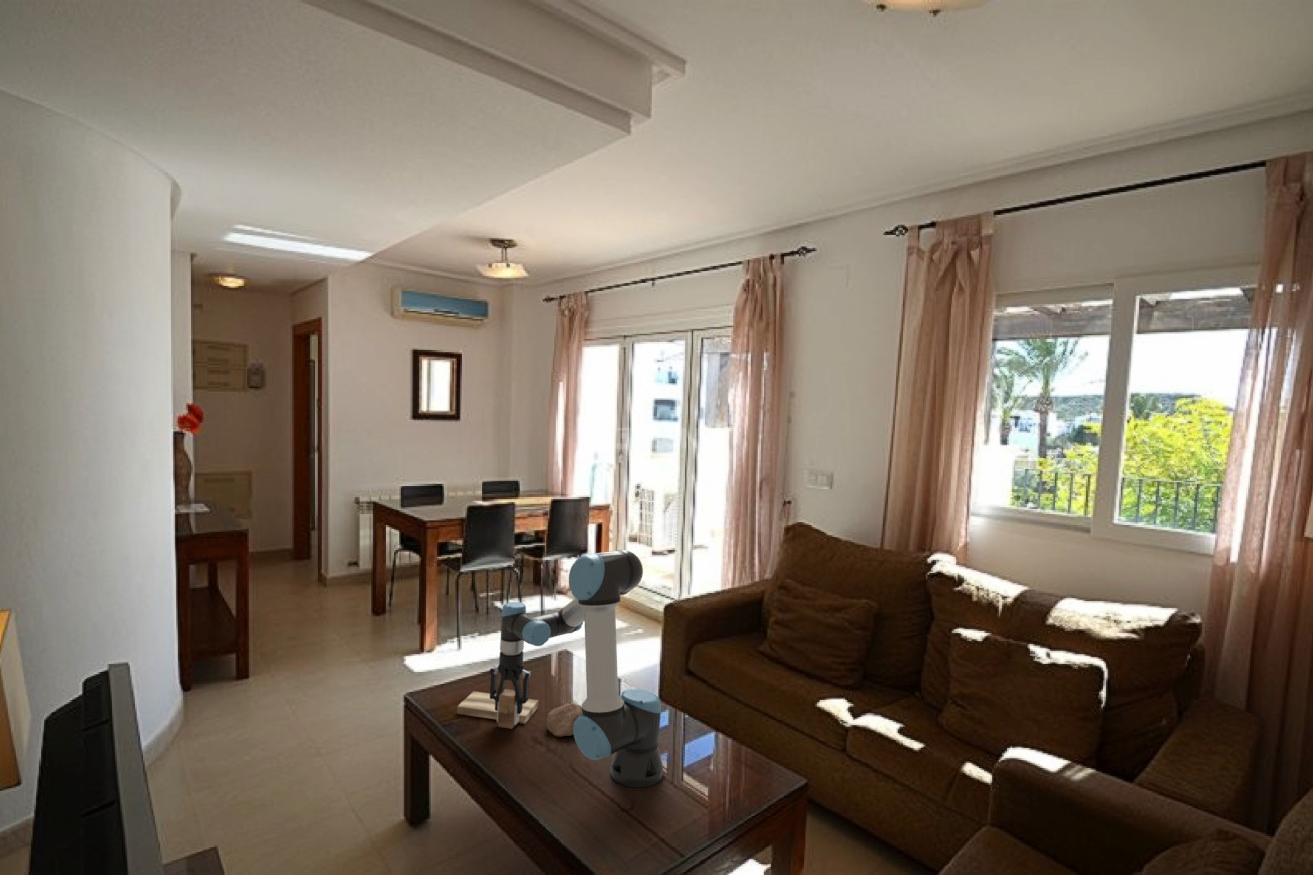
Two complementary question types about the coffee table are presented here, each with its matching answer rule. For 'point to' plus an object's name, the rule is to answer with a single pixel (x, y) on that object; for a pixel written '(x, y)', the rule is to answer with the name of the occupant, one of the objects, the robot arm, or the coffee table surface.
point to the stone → (563, 719)
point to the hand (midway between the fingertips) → (507, 721)
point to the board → (491, 707)
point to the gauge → (506, 709)
